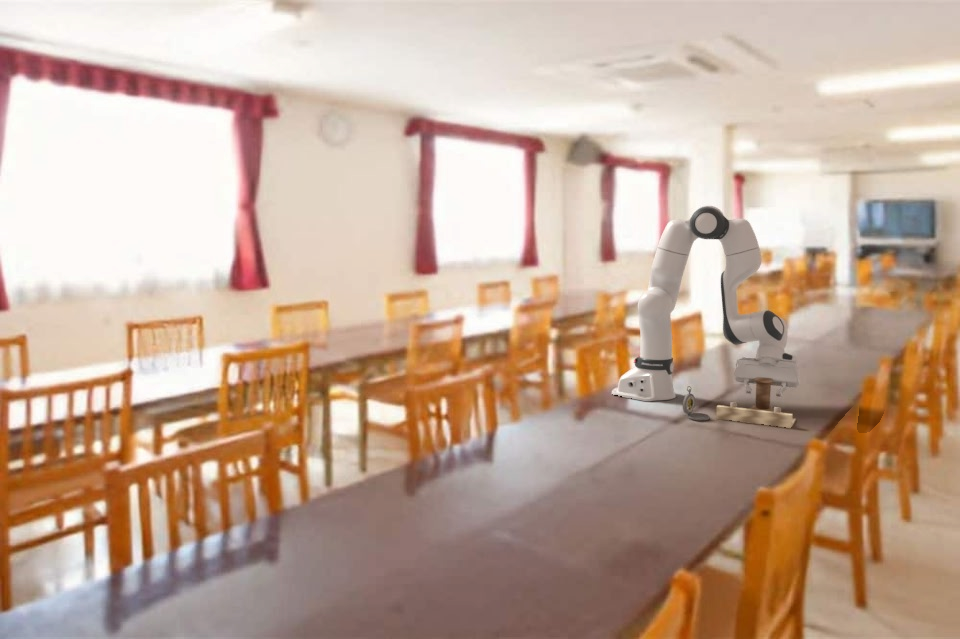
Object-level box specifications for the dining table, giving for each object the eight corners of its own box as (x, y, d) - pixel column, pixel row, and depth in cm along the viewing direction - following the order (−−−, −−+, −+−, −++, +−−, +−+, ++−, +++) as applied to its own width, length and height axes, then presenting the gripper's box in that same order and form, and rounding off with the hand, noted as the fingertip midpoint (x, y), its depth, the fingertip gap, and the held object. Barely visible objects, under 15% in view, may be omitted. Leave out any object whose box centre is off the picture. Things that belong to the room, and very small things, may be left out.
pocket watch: (710, 422, 221) (711, 390, 219) (683, 420, 222) (683, 389, 221) (707, 415, 229) (708, 384, 227) (680, 414, 230) (681, 384, 229)
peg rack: (716, 418, 224) (716, 403, 223) (723, 411, 233) (723, 396, 232) (791, 428, 213) (791, 412, 212) (795, 420, 221) (796, 404, 221)
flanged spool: (749, 412, 232) (750, 379, 230) (753, 407, 238) (754, 375, 236) (771, 414, 228) (773, 382, 227) (775, 409, 234) (776, 377, 233)
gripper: (736, 351, 242) (729, 385, 235) (801, 356, 231) (795, 392, 224) (738, 362, 246) (731, 395, 239) (802, 367, 236) (797, 402, 229)
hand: (763, 394), depth 232 cm, fingers open, 8 cm apart
